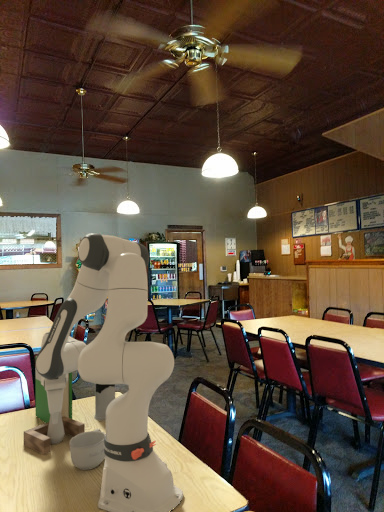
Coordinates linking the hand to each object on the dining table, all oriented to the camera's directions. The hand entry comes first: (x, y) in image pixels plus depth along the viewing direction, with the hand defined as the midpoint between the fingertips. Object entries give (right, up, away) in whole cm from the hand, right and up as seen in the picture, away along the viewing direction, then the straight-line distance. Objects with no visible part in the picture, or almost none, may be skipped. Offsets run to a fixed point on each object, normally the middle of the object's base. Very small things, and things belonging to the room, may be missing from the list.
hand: (54, 418), depth 128 cm
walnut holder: (0, -8, 0) cm, 8 cm away
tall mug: (+11, -9, +23) cm, 27 cm away
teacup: (+16, -7, -14) cm, 23 cm away
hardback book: (-8, -9, +19) cm, 23 cm away
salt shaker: (0, -8, 0) cm, 8 cm away
